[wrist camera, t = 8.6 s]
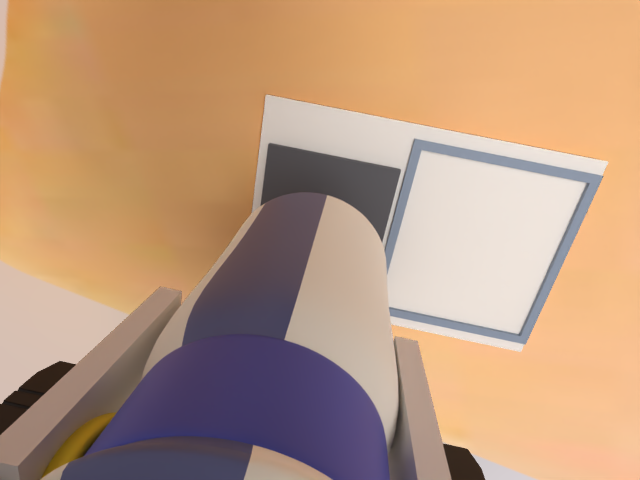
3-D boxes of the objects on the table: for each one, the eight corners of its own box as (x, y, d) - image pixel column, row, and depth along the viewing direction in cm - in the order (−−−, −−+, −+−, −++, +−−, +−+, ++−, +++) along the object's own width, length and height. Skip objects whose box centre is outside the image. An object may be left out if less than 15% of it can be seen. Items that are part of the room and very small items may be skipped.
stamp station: (268, 94, 25) (263, 94, 24) (600, 159, 25) (614, 163, 23) (245, 288, 31) (239, 296, 29) (516, 345, 30) (524, 356, 29)
